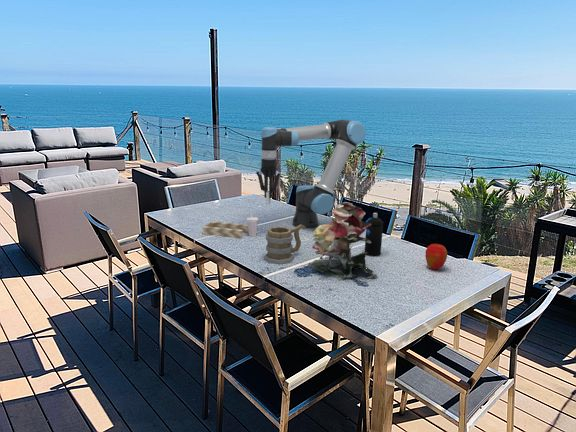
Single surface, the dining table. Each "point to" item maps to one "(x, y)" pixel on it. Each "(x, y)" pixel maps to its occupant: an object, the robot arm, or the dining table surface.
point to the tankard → (282, 244)
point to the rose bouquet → (341, 242)
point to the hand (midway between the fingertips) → (268, 204)
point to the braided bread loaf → (225, 229)
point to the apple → (436, 256)
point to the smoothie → (252, 225)
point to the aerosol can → (374, 236)
